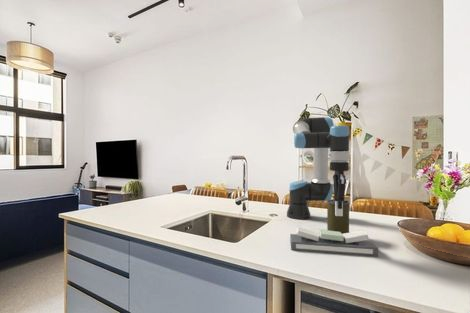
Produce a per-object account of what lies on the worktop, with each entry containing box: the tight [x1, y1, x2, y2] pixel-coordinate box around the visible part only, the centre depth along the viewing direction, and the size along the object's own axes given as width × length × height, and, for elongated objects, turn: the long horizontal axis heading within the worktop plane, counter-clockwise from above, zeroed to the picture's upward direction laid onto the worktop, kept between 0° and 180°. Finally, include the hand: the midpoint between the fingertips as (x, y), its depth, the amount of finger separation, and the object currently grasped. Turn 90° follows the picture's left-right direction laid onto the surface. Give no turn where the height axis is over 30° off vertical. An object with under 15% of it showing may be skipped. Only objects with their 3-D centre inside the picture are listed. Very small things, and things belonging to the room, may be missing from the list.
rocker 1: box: [295, 226, 320, 241], centre depth 104 cm, size 6×9×2 cm, turn 79°
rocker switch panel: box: [289, 233, 379, 257], centre depth 102 cm, size 10×34×5 cm, turn 79°
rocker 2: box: [342, 229, 370, 243], centre depth 100 cm, size 6×9×2 cm, turn 79°
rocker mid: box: [318, 229, 344, 241], centre depth 102 cm, size 6×9×2 cm, turn 79°
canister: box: [326, 195, 350, 234], centre depth 117 cm, size 11×10×20 cm
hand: (338, 215), depth 102 cm, fingers closed
